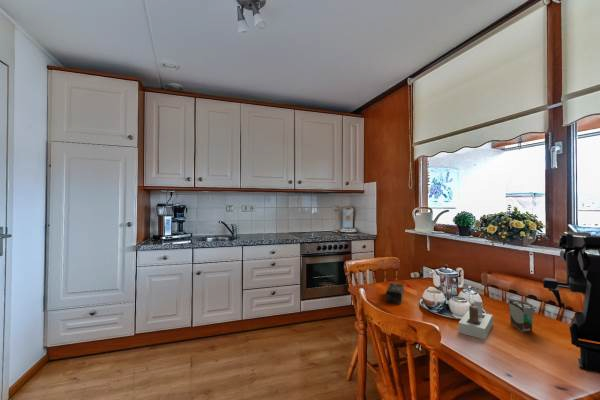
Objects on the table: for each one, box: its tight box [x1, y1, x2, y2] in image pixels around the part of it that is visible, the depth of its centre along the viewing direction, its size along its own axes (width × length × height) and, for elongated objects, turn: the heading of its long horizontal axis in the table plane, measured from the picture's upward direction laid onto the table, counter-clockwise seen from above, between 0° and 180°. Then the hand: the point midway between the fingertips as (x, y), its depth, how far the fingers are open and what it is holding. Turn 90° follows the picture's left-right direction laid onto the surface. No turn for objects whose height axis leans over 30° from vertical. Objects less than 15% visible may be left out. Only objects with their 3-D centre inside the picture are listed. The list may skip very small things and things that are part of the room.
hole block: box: [458, 310, 494, 340], centre depth 116 cm, size 18×9×4 cm, turn 138°
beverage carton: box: [385, 282, 405, 305], centre depth 155 cm, size 8×19×7 cm, turn 156°
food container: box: [508, 299, 536, 334], centre depth 116 cm, size 12×6×10 cm, turn 168°
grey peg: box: [473, 299, 483, 318], centre depth 120 cm, size 3×3×10 cm
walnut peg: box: [468, 305, 478, 325], centre depth 113 cm, size 3×3×10 cm
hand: (578, 311), depth 100 cm, fingers open, 9 cm apart
